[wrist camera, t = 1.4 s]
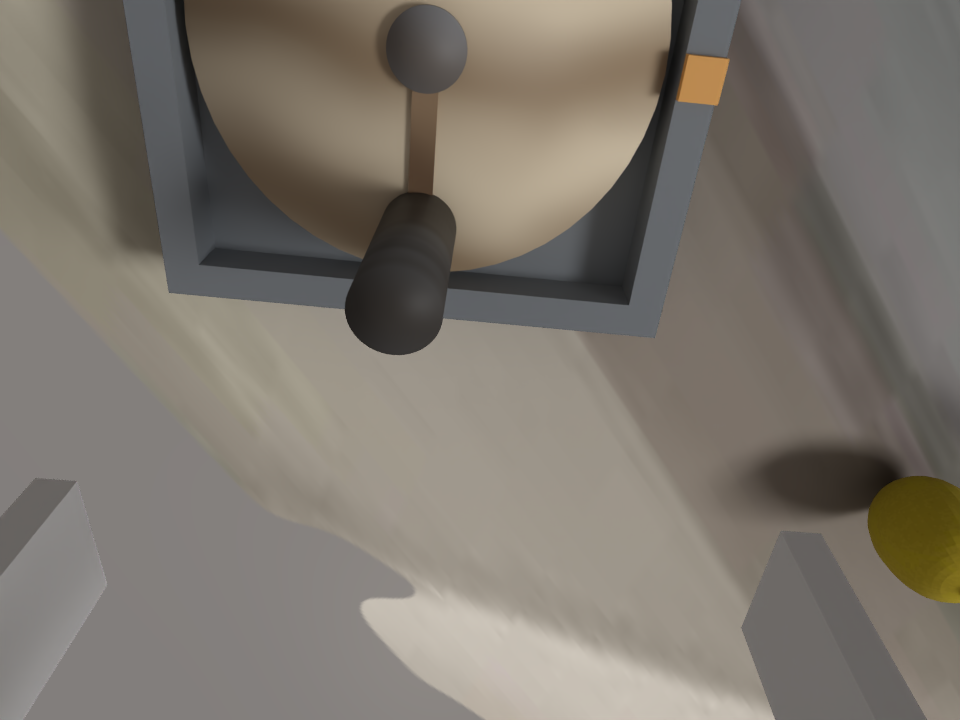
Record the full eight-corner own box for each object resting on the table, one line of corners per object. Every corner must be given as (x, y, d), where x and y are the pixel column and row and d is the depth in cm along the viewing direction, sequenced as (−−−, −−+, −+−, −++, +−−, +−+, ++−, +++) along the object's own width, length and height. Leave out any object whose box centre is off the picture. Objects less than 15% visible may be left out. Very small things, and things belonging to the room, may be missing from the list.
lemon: (929, 432, 38) (1025, 539, 31) (955, 496, 40) (1051, 608, 33) (830, 474, 39) (900, 584, 32) (861, 533, 42) (933, 647, 35)
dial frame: (117, -364, 22) (49, -420, 19) (780, -286, 23) (829, -328, 19) (198, 262, 33) (165, 296, 30) (641, 304, 34) (656, 342, 31)
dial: (167, -289, 22) (-31, -436, 14) (719, -226, 22) (845, -331, 14) (224, 239, 31) (125, 340, 23) (614, 276, 32) (653, 388, 23)
